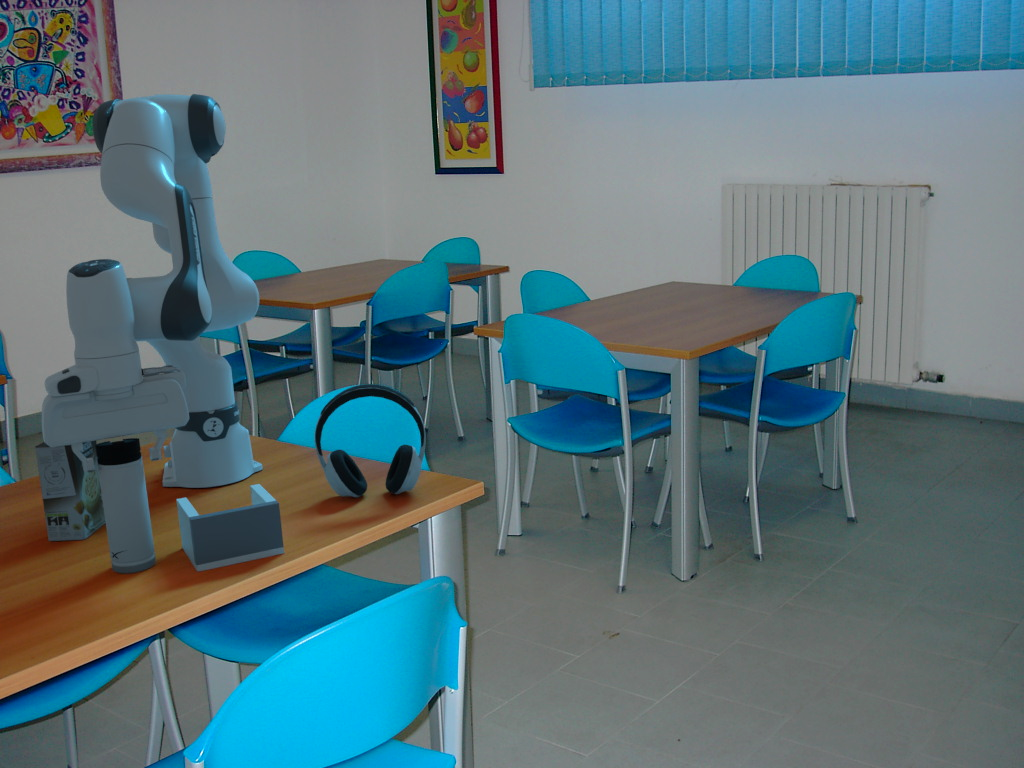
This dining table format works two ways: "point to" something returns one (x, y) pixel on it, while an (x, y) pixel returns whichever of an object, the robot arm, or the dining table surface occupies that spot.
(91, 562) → the dining table surface
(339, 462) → the headphones
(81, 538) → the coffee box
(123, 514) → the travel mug
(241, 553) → the u-shaped bracket
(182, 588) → the dining table surface
